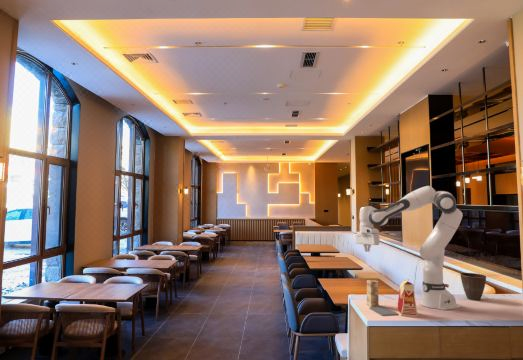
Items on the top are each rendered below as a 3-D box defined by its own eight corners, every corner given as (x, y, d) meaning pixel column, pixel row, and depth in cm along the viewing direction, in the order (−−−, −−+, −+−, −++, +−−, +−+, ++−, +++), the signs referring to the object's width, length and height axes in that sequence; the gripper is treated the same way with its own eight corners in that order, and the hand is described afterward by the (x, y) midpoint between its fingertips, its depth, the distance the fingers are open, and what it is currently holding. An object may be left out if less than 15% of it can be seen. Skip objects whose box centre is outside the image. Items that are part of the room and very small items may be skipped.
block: (374, 304, 215) (373, 279, 216) (378, 306, 210) (378, 281, 211) (366, 304, 214) (366, 280, 215) (371, 307, 209) (370, 281, 210)
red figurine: (418, 317, 192) (417, 280, 193) (401, 316, 193) (400, 279, 194) (413, 312, 201) (412, 277, 202) (396, 311, 202) (396, 276, 203)
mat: (384, 307, 208) (384, 306, 208) (398, 314, 195) (398, 313, 195) (369, 308, 206) (369, 307, 206) (382, 315, 193) (382, 314, 193)
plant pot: (492, 302, 223) (491, 277, 224) (468, 302, 224) (468, 277, 225) (478, 296, 238) (477, 273, 239) (456, 296, 239) (455, 272, 240)
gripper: (353, 230, 238) (353, 250, 236) (372, 230, 219) (373, 252, 217) (360, 230, 240) (361, 250, 238) (380, 230, 221) (381, 252, 219)
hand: (367, 251), depth 227 cm, fingers closed
